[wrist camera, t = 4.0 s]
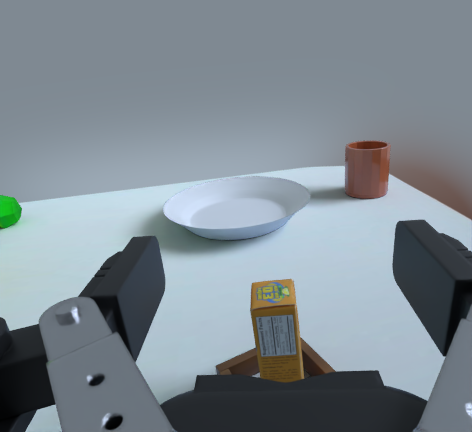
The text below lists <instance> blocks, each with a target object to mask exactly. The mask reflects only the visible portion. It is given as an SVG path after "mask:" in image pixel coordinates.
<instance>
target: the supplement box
mask: <svg viewBox="0 0 472 432" xmlns="http://www.w3.org/2000/svg"><path fill="white" fill-rule="evenodd" d="M250 311H251V318H252V324H253V331H254V338H255V345H256V352H257V358H258V365H259V371H260V378H262V379H268V380H273V381H278V382H293V381H297V380H301V379H304V372H303V361H302V351H301V341H300V331H299V322H298V313H297V305H296V297H295V288H294V281H293V279H285V280H273V281H263V282H256V283H252V288H251V309H250Z"/></svg>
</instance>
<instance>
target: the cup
mask: <svg viewBox="0 0 472 432" xmlns="http://www.w3.org/2000/svg"><path fill="white" fill-rule="evenodd" d="M345 156H346V157H345V158H346V159H345V193H346V194H347V195H349V196H351V197H355V198H362V199H371V198H378V197H382V196H384V195H386V194H387V190H388V176H389V161H390V143H387V142H382V141H358V142H352V143H349V144H347V145H346V153H345Z"/></svg>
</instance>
